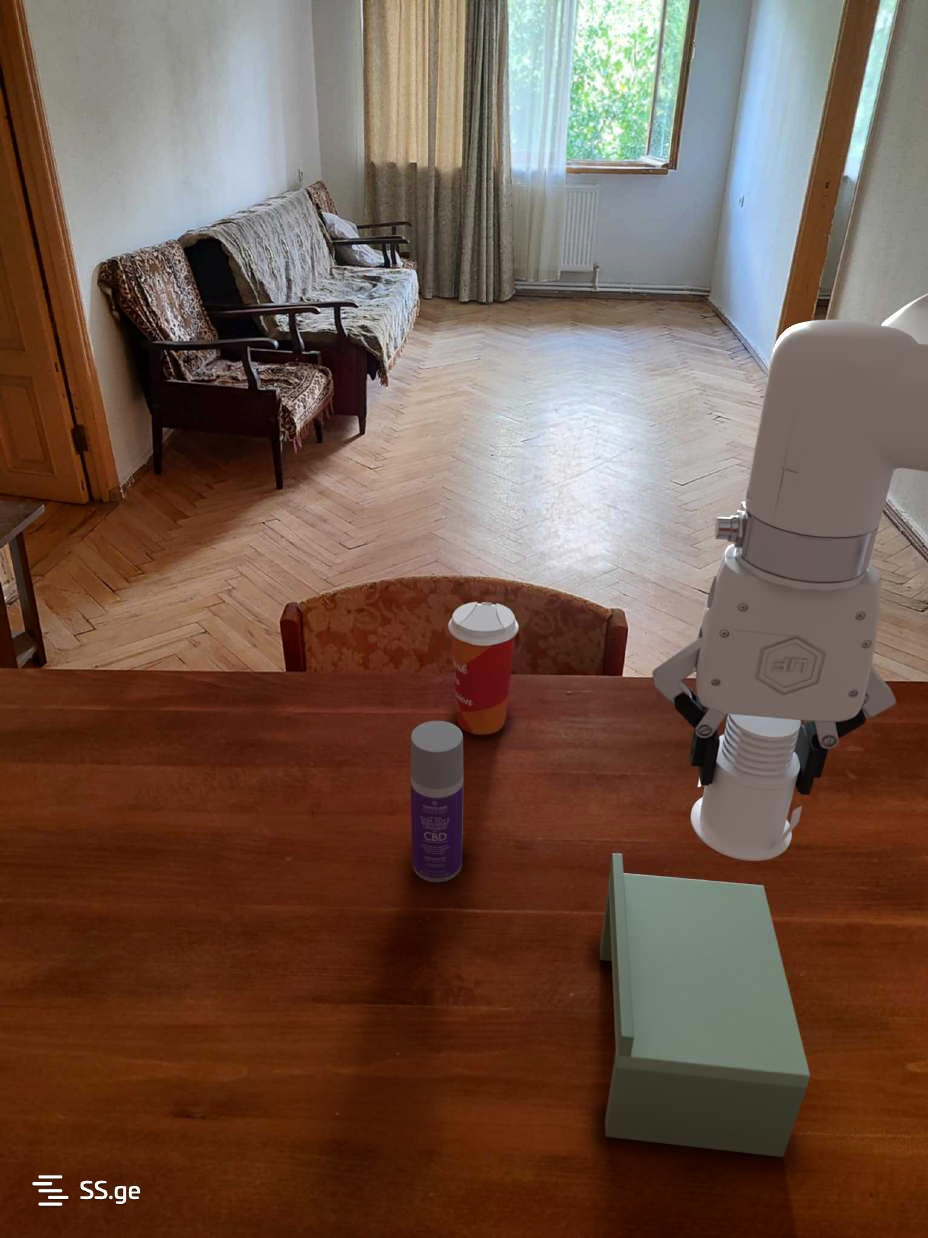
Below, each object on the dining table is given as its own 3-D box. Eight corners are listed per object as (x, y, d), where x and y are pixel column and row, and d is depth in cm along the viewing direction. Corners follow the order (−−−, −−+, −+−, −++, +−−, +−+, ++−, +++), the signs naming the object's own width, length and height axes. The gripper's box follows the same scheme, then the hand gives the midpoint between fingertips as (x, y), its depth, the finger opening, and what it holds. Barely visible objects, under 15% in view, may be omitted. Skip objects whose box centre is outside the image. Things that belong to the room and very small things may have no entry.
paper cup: (453, 698, 107) (453, 596, 100) (516, 704, 106) (521, 601, 99) (443, 738, 100) (442, 631, 93) (510, 744, 99) (515, 637, 92)
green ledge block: (744, 962, 74) (768, 866, 68) (783, 1157, 60) (817, 1057, 54) (599, 948, 75) (612, 853, 69) (605, 1137, 61) (621, 1036, 56)
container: (423, 888, 80) (421, 758, 73) (405, 854, 84) (401, 727, 77) (470, 873, 82) (472, 745, 75) (450, 840, 86) (451, 714, 78)
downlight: (817, 843, 63) (849, 729, 58) (749, 883, 59) (777, 766, 54) (730, 780, 68) (753, 672, 63) (665, 814, 65) (683, 702, 60)
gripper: (661, 558, 50) (627, 801, 59) (980, 579, 48) (895, 827, 57) (653, 508, 57) (624, 734, 66) (934, 525, 55) (865, 755, 64)
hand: (751, 775), depth 61 cm, fingers closed on downlight, 5 cm apart
